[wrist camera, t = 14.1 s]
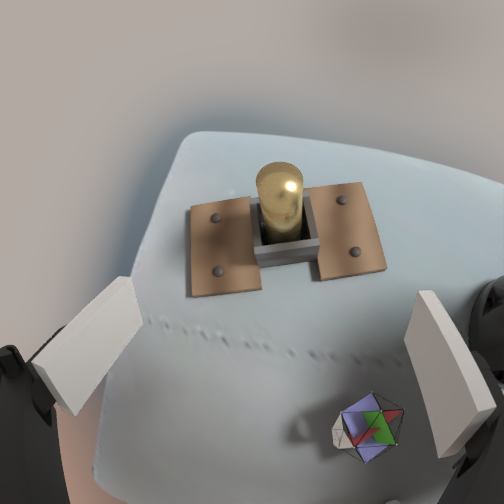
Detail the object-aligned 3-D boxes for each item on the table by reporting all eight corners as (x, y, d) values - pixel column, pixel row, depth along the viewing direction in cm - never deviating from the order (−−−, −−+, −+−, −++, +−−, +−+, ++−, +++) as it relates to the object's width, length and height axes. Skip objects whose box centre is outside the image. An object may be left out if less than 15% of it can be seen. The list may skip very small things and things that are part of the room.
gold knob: (297, 221, 36) (298, 159, 24) (303, 251, 34) (307, 196, 23) (265, 225, 36) (253, 165, 25) (269, 255, 34) (258, 203, 23)
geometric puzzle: (397, 374, 25) (375, 406, 19) (419, 424, 23) (401, 465, 17) (343, 397, 29) (308, 427, 23) (365, 442, 26) (335, 479, 20)
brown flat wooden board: (360, 186, 36) (366, 165, 32) (384, 270, 32) (396, 257, 28) (192, 210, 38) (181, 192, 34) (194, 297, 34) (181, 287, 30)
